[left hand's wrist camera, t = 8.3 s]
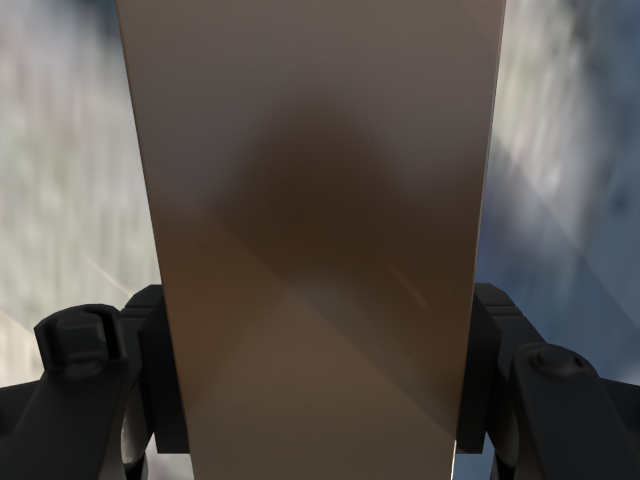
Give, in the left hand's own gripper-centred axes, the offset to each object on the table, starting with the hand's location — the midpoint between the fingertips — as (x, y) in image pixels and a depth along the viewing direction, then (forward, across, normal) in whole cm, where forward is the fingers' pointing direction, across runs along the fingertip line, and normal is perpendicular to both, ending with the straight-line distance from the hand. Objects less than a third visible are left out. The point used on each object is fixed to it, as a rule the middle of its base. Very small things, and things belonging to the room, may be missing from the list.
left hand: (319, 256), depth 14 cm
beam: (+1, 0, -22) cm, 23 cm away
